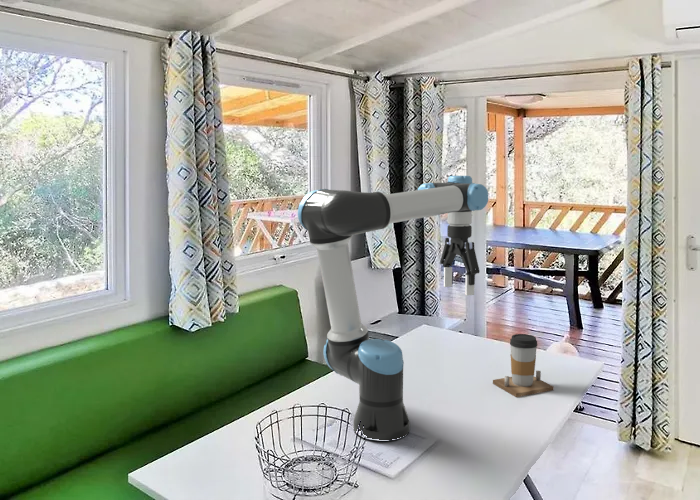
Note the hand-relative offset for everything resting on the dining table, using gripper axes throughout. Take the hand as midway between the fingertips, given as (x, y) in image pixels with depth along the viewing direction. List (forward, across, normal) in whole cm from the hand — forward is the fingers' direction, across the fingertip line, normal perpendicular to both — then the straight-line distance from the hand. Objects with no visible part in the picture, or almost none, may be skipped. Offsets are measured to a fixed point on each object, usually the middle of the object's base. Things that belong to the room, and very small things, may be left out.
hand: (458, 290), depth 184 cm
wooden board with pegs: (+30, -13, -16) cm, 36 cm away
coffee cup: (+29, -13, -16) cm, 35 cm away
